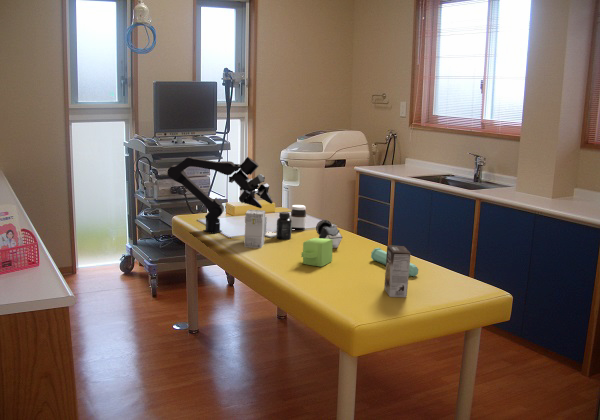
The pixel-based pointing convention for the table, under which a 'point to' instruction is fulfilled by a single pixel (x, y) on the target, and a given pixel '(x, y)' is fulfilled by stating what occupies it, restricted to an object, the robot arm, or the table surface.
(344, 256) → the table surface
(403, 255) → the coffee box
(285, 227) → the supplement bottle
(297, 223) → the white and brown mug
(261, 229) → the circuit breaker
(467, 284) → the table surface
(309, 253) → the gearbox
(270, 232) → the grey mat
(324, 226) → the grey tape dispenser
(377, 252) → the container
